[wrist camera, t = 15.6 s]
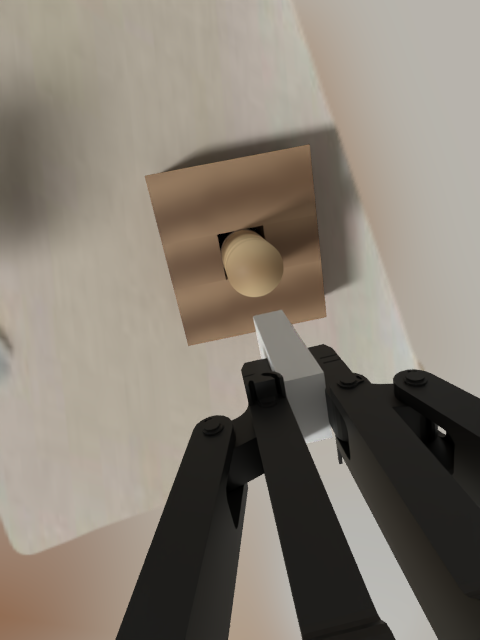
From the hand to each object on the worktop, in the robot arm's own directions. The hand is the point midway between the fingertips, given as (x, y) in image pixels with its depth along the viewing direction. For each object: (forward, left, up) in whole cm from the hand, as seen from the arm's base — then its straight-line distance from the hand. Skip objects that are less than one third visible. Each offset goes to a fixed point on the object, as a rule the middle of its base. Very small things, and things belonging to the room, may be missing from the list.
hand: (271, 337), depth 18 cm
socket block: (-1, +1, -26) cm, 26 cm away
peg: (-1, +1, -27) cm, 27 cm away
